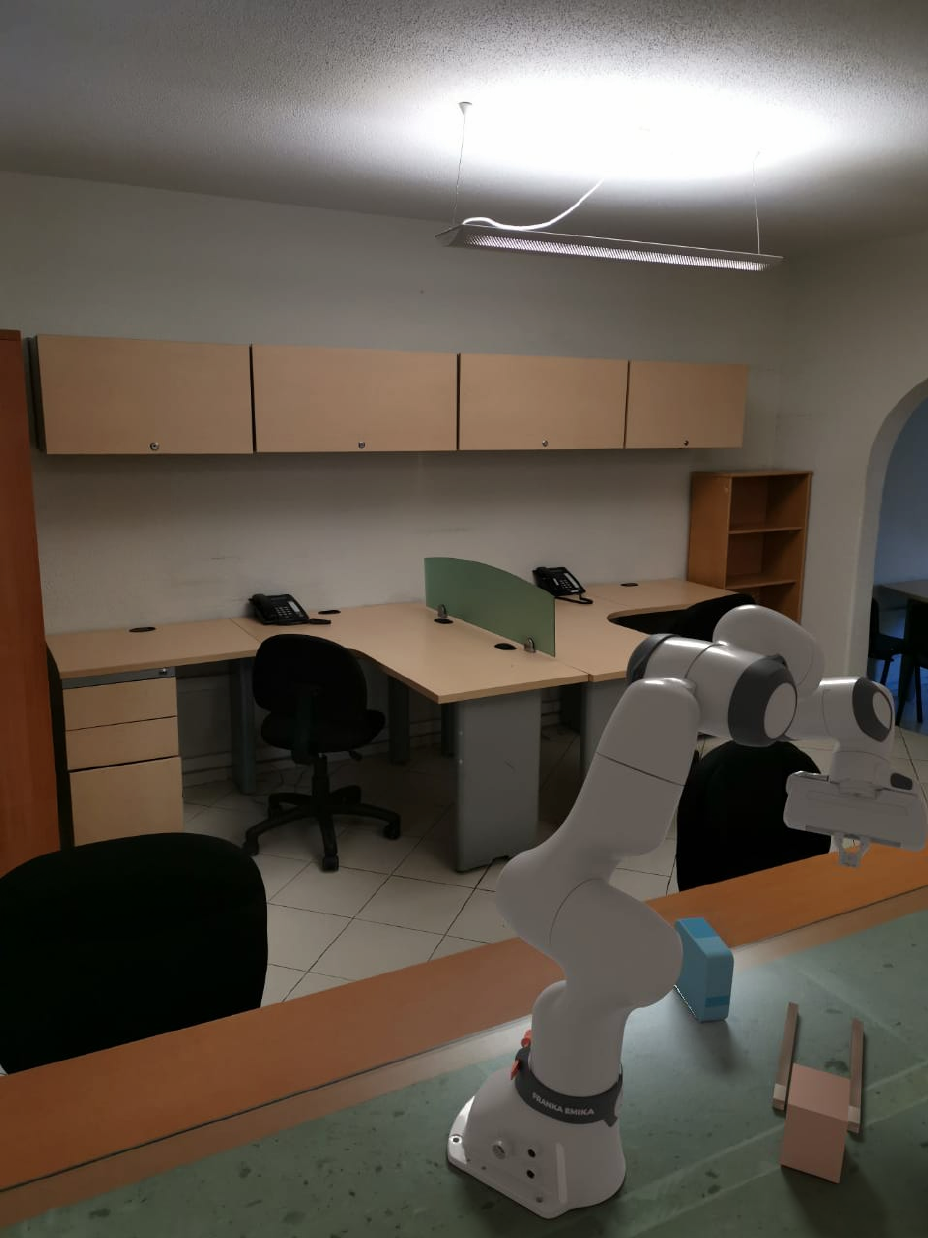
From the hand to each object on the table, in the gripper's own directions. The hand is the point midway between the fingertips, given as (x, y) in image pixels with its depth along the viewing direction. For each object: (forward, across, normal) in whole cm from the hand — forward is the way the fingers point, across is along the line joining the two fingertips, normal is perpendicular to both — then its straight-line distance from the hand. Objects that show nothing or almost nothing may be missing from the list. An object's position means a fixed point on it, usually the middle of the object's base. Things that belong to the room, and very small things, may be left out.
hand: (848, 865), depth 139 cm
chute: (+27, -1, +11) cm, 29 cm away
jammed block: (+39, 0, -2) cm, 39 cm away
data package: (+22, -20, +16) cm, 34 cm away
